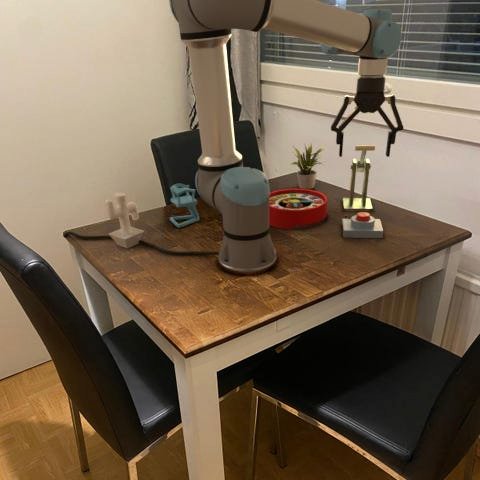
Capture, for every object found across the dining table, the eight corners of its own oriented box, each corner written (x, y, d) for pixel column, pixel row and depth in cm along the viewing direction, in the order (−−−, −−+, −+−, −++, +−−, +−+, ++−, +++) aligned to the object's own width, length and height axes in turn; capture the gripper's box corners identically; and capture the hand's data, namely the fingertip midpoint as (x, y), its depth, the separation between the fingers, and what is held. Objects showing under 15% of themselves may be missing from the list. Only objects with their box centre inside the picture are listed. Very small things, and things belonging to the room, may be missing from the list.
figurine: (149, 241, 144) (141, 191, 136) (123, 252, 138) (114, 200, 130) (132, 236, 148) (124, 186, 140) (107, 246, 142) (97, 196, 134)
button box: (343, 237, 141) (344, 224, 139) (341, 225, 148) (342, 212, 146) (382, 238, 139) (384, 224, 137) (379, 226, 147) (380, 213, 145)
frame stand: (372, 212, 157) (377, 165, 149) (343, 211, 158) (347, 165, 150) (369, 201, 165) (374, 156, 157) (342, 201, 166) (345, 156, 158)
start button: (356, 222, 141) (357, 216, 140) (356, 217, 144) (356, 211, 143) (369, 222, 140) (370, 216, 139) (368, 217, 143) (369, 212, 142)
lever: (375, 150, 142) (375, 142, 143) (355, 150, 143) (355, 142, 143) (368, 172, 155) (369, 165, 156) (351, 172, 156) (351, 165, 156)
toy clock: (261, 189, 161) (323, 187, 161) (262, 206, 164) (322, 205, 164) (263, 211, 144) (331, 209, 144) (263, 230, 148) (330, 228, 147)
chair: (202, 222, 155) (199, 185, 148) (178, 228, 152) (173, 189, 145) (193, 215, 160) (190, 178, 154) (169, 220, 157) (164, 183, 151)
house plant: (333, 195, 171) (336, 147, 163) (294, 198, 170) (295, 150, 161) (321, 183, 183) (324, 137, 175) (285, 186, 182) (285, 140, 173)
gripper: (416, 73, 136) (405, 152, 147) (325, 75, 139) (321, 152, 150) (421, 76, 129) (409, 158, 141) (325, 78, 133) (321, 159, 144)
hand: (363, 155), depth 146 cm, fingers open, 13 cm apart
